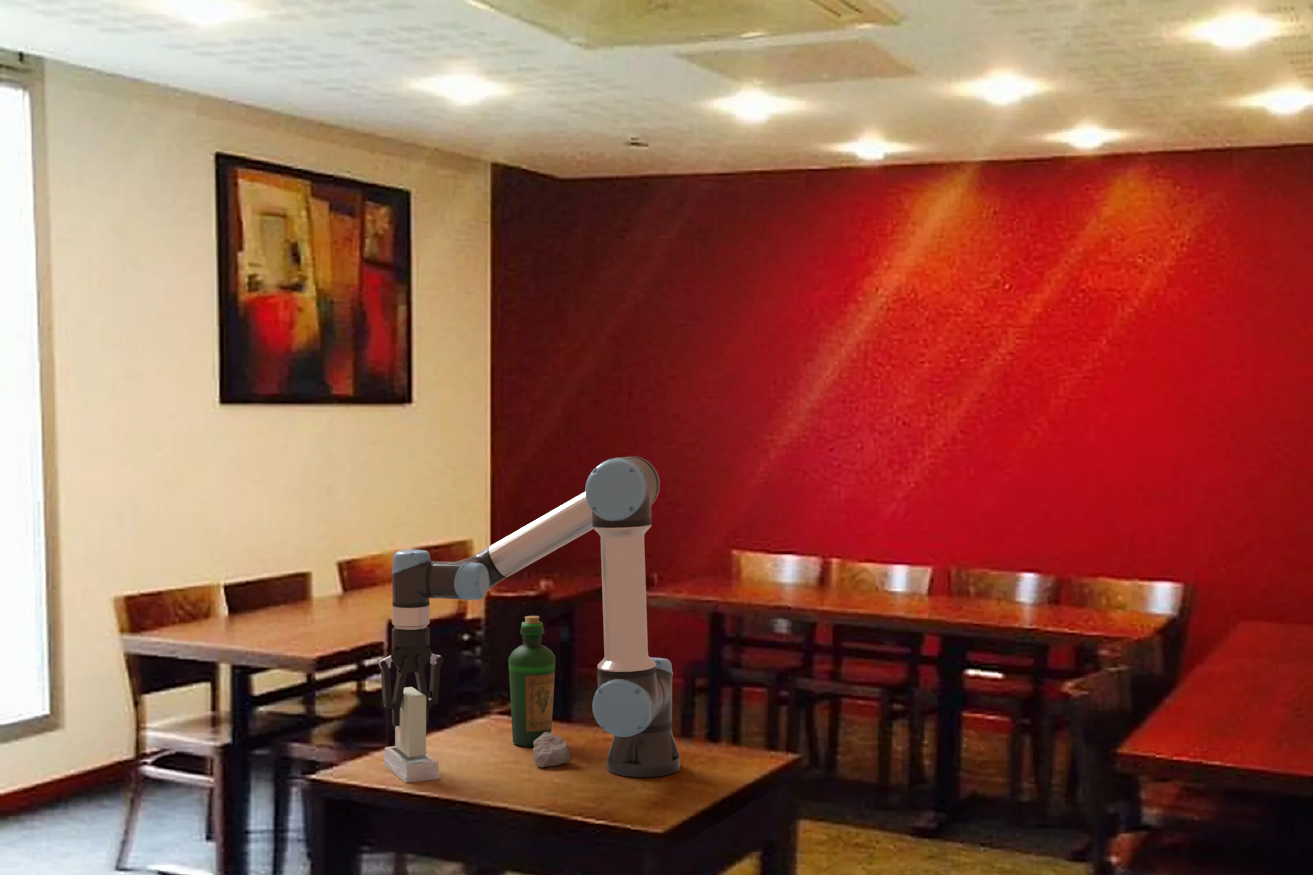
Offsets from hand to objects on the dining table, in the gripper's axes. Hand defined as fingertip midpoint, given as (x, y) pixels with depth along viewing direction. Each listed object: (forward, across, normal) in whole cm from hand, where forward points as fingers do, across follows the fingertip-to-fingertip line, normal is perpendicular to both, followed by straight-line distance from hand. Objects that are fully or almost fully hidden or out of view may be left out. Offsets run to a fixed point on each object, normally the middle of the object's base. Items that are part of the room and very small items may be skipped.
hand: (410, 740), depth 303 cm
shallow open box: (+6, 0, 0) cm, 6 cm away
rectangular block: (+2, 0, 0) cm, 2 cm away
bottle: (+6, -31, -12) cm, 34 cm away
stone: (+7, -28, +5) cm, 30 cm away
